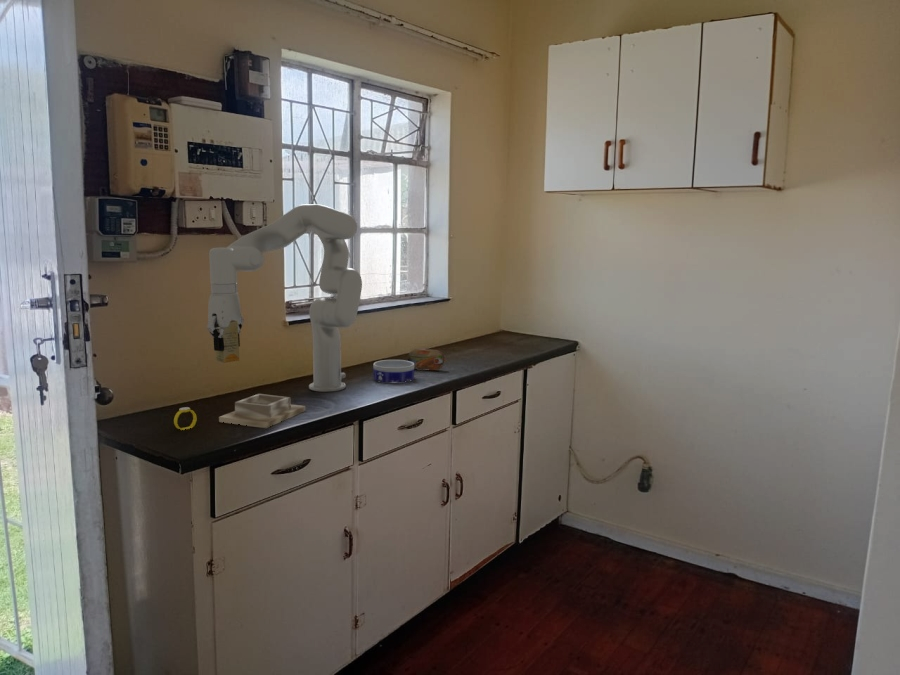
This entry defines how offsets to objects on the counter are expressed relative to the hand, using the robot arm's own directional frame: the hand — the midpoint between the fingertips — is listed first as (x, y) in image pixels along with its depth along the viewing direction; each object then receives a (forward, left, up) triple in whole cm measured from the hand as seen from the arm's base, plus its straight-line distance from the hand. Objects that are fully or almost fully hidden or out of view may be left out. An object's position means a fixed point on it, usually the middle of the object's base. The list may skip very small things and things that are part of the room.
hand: (227, 348), depth 205 cm
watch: (+21, +2, -19) cm, 29 cm away
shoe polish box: (0, 0, -4) cm, 4 cm away
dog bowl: (-60, +28, -19) cm, 69 cm away
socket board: (+2, +14, -19) cm, 24 cm away
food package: (-80, +33, -19) cm, 88 cm away
